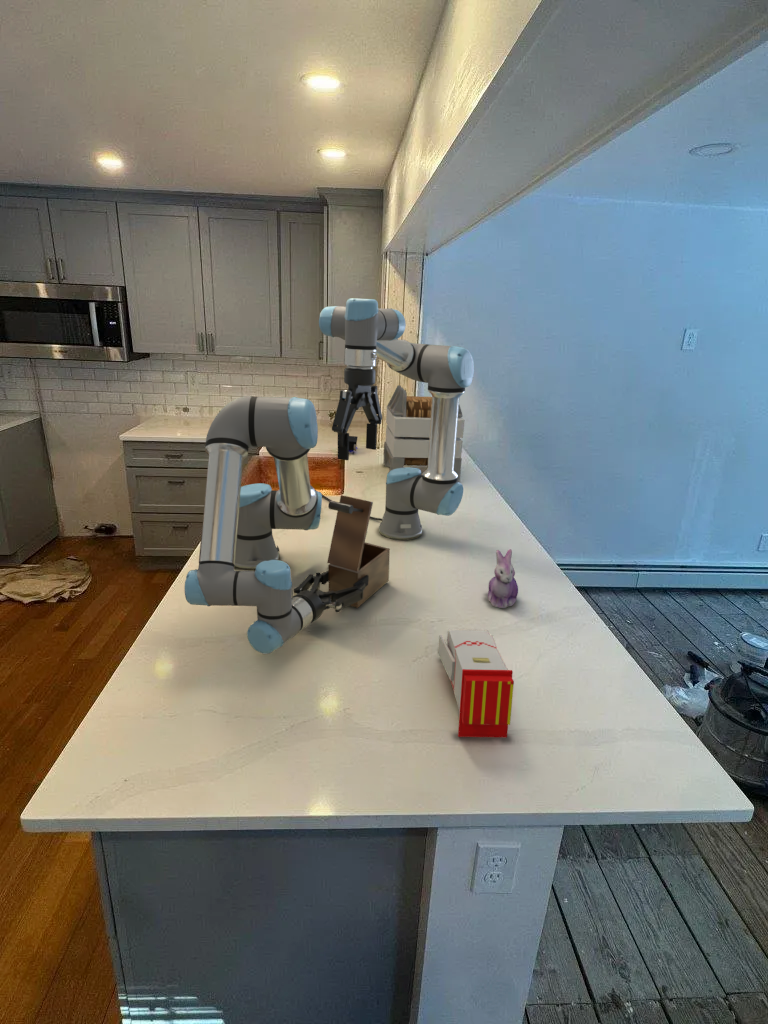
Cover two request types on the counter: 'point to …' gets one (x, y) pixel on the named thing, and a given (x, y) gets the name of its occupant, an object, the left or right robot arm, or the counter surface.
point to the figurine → (503, 582)
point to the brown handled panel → (349, 532)
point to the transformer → (413, 432)
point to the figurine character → (352, 443)
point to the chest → (363, 572)
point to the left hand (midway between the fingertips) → (351, 575)
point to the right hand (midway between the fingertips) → (357, 454)
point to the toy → (478, 682)
